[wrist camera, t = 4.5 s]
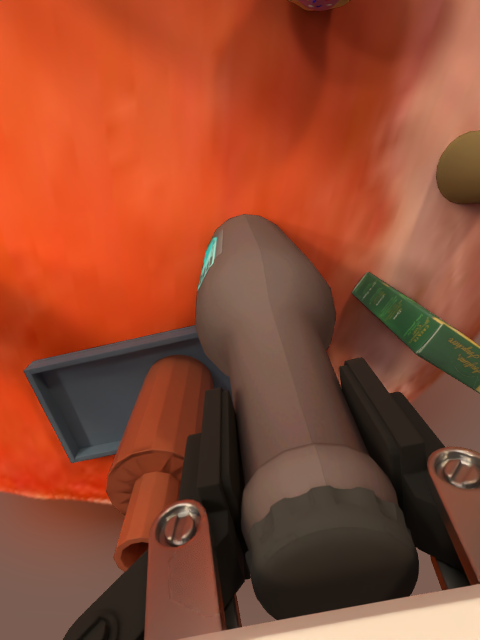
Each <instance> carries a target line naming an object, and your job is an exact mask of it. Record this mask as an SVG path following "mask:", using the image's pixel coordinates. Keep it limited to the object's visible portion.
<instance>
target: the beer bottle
mask: <svg viewBox="0 0 480 640" xmlns="http://www.w3.org/2000/svg"><path fill="white" fill-rule="evenodd" d="M195 318H196V319H195V329H196V332H197V334H198V337H199V340H200V342H201V345H202V348H203V350H204V352H205V354H206V356H207V357H208V358H209V359H210V360H211V361H212V362H213V363H214V364H215V365H216V366H217V367H218V368H219V369H220V370H221V371H222V372H223V373H224V374H225V375H227V376H229V377H230V382H231V390H232V397H233V404H234V410H235V413H236V420H237V431H238V439H239V446H240V453H241V461H242V468H243V475H244V482H245V488H244V491H243V497H242V504H241V531H242V533H243V536H244V539H245V542H246V544H247V547H248V551H247V552H246V553H245V557H246V562H247V565H248V568H249V571H250V574H251V580H252V584H253V589H254V592H255V595H256V597H257V599H258V600H259V602H260V603H261V605H262V606H263V608H264V609H265V610H266V611H267V612H268V613H269V614H270V615H271V616H272V617H274V618H275V619H276V620H283V619H288V618H293V617H299V616H304V615H310V614H315V613H321V612H326V611H332V610H337V609H343V608H348V607H353V606H359V605H365V604H370V603H376V602H381V601H387V600H392V599H398V598H403V597H409V596H410V594H411V593H412V591H413V589H414V587H415V585H416V582H417V579H418V573H419V560H418V553H417V550H416V548H415V545H414V543H413V540H412V537H411V532H410V529H408V528H407V527H406V523H405V519H404V514H403V511H402V510H401V509H400V507H399V506H398V500H397V495H396V491H395V489H394V487H393V485H392V483H391V481H390V479H389V477H388V476H387V475H386V474H385V472H384V471H383V470H382V469H381V468H380V467H379V465H378V464H377V463H376V462H375V461H374V460H373V459H372V458H371V457H370V456H369V453H368V451H367V449H366V446H365V444H364V441H363V439H362V437H361V434H360V432H359V429H358V427H357V425H356V422H355V420H354V417H353V415H352V413H351V410H350V408H349V405H348V403H347V401H346V398H345V396H344V394H343V391H342V389H341V386H340V384H339V382H338V379H337V377H336V374H335V372H334V370H333V367H332V365H331V362H330V360H329V358H328V355H327V353H326V350H327V349H328V347H329V345H330V344H331V339H332V335H333V330H334V326H335V321H336V312H335V307H334V302H333V297H332V292H331V288H330V287H329V285H328V284H327V282H326V281H325V280H324V278H323V277H322V276H321V274H320V273H319V272H318V270H317V269H316V268H315V266H314V265H313V264H312V262H311V261H310V260H309V259H308V258H307V257H306V256H305V255H304V254H303V253H302V252H301V250H300V249H299V248H298V247H297V246H296V245H295V244H294V243H293V242H292V241H291V240H290V239H289V238H288V237H287V236H286V235H285V233H284V232H283V231H282V230H281V229H280V228H279V227H278V226H277V225H276V224H274V223H272V222H270V221H268V220H267V219H265V218H263V217H261V216H257V215H247V214H243V215H240V216H236V217H233V218H230V219H228V220H227V221H226V222H224V223H223V224H222V225H221V226H220V227H219V228H217V229H216V231H215V233H214V235H213V237H212V239H211V241H210V243H209V245H208V247H207V250H206V254H205V258H204V263H203V267H202V272H201V276H200V281H199V285H198V290H197V300H196V315H195Z"/></svg>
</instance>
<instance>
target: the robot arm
mask: <svg viewBox="0 0 480 640" xmlns="http://www.w3.org/2000/svg"><path fill="white" fill-rule="evenodd" d="M339 371H340V378H341V386H342V391H343V394H344V396H345V398H346V401H347V403H348V405H349V408H350V410H351V413H352V415H353V417H354V420H355V422H356V425H357V427H358V429H359V432H360V434H361V437H362V439H363V441H364V444H365V446H366V449H367V451H368V453H369V456H370V457H371V458H372V459H373V460H374V461H375V462H376V463H377V464H378V465H379V467H380V468H381V469H382V470H383V471H384V472H385V474H386V475H387V476H388V477H389V479H390V481H391V483H392V485H393V487H394V489H395V491H396V495H397V500H398V506H399V507H400V509H401V510H402V511H403V514H404V519H405V523H406V527H407V528H408V529H410V532H411V537H412V540H413V543H414V545H415V548H416V547H417V548H418V549H419V550H421V551H423V552H425V553H427V554H429V555H430V556H431V561H432V564H433V567H434V569H435V572H436V575H437V577H438V580H439V583H440V586H441V588H442V591H437V592H432V593H426V594H420V595H415V596H409V597H403V598H398V599H392V600H387V601H381V602H376V603H370V604H365V605H359V606H353V607H348V608H343V609H337V610H332V611H326V612H321V613H315V614H310V615H304V616H299V617H293V618H288V619H283V620H277V621H272V622H267V623H261V624H256V625H251V626H245V627H242V625H241V619H240V613H239V607H238V601H237V596H236V592H237V591H238V589H239V588H240V587H241V585H242V584H243V583H244V582H245V579H250V571H249V568H248V565H247V562H246V557H245V553H246V552H247V551H248V547H247V544H246V542H245V539H244V536H243V533H242V531H241V504H242V497H243V491H244V488H245V482H244V475H243V468H242V461H241V453H240V446H239V439H238V431H237V420H236V413H235V410H234V406H233V402H232V399H231V395H230V392H229V390H228V391H223V389H222V387H221V388H216V389H211V390H206V391H205V397H204V408H203V420H202V431H201V433H197V434H192V435H189V436H188V437H187V441H186V448H185V456H184V463H183V470H182V477H181V484H180V491H179V498H178V501H176V502H174V503H172V504H170V505H168V506H167V507H166V508H164V509H163V510H162V511H161V512H160V513H159V514H158V515H157V516H156V518H155V519H154V521H153V523H152V525H151V528H150V533H149V548H148V550H147V551H146V552H145V553H144V554H143V555H142V556H141V557H140V558H139V559H138V560H137V561H136V562H135V563H133V564H132V565H131V566H130V567H129V568H128V569H127V570H126V571H125V572H124V574H122V575H121V576H120V577H119V578H118V579H117V580H116V581H115V582H114V583H113V584H112V585H111V586H110V587H109V588H108V589H107V590H106V591H105V592H104V593H103V594H102V595H101V596H100V597H99V598H98V599H97V600H96V601H95V602H94V603H93V604H92V605H91V606H90V607H89V608H88V609H87V610H86V611H85V612H84V613H83V614H82V615H81V616H80V617H79V618H78V619H77V620H76V621H75V623H74V624H73V625H72V626H71V627H70V629H69V630H68V632H67V633H66V635H65V637H64V638H63V640H480V453H478V452H476V451H473V450H470V449H466V448H462V447H445V446H444V445H443V444H442V443H441V441H440V440H439V439H438V438H437V436H436V435H435V434H434V433H433V431H432V430H431V429H430V428H429V426H428V425H427V424H426V423H425V421H424V420H423V419H422V418H421V416H420V415H419V414H418V413H417V411H416V410H415V409H414V408H413V406H412V405H411V404H410V403H409V401H408V400H407V399H406V397H405V396H404V395H403V394H402V393H401V392H394V393H389V392H388V391H387V390H386V388H385V387H384V386H383V384H382V383H381V382H380V380H379V379H378V377H377V376H376V375H375V373H374V372H373V371H372V369H371V368H370V367H369V365H368V364H367V363H366V361H365V360H364V359H363V358H362V357H361V358H356V359H352V360H347V361H345V362H344V366H340V367H339Z"/></svg>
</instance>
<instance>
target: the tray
mask: <svg viewBox="0 0 480 640" xmlns="http://www.w3.org/2000/svg"><path fill="white" fill-rule="evenodd" d="M170 355H186V356H190V357H193V358H195V359H197V360H199V361H200V362H202V363H203V364H204V365H205V366H206V367H207V368H208V370H209V371H210V373H211V375H212V378H213V384H214V389H216V388H221V387H222V389H223V391H228V390H229V392H230V395H231V399H232V402H233V397H232V390H231V382H230V377H229V376H227V375H225V374H224V373H223V372H222V371H221V370H220V369H219V368H218V367H217V366H216V365H215V364H214V363H213V362H212V361H211V360H210V359H209V358H208V357H207V356H206V354H205V352H204V350H203V348H202V345H201V342H200V340H199V337H198V334H197V332H196V329H195V325H194V326H189V327H185V328H180V329H176V330H171V331H167V332H162V333H158V334H153V335H149V336H144V337H140V338H135V339H131V340H126V341H122V342H117V343H113V344H108V345H104V346H99V347H95V348H90V349H86V350H81V351H77V352H72V353H68V354H63V355H59V356H54V357H50V358H45V359H41V360H36V361H33V362H32V363H31V364H30V365H29V366H28V367H27V368H26V369H25V370H24V373H25V375H26V377H27V379H28V381H29V383H30V384H31V386H32V388H33V390H34V392H35V394H36V396H37V398H38V400H39V402H40V404H41V406H42V408H43V409H44V411H45V413H46V415H47V417H48V419H49V421H50V423H51V425H52V427H53V429H54V431H55V432H56V434H57V436H58V438H59V440H60V442H61V444H62V446H63V448H64V450H65V452H66V454H67V456H68V457H69V459H70V461H71V463H74V462H79V461H84V460H89V459H94V458H99V457H103V456H108V455H113V454H116V453H117V450H118V447H119V445H120V442H121V440H122V437H123V434H124V432H125V429H126V426H127V424H128V421H129V419H130V416H131V413H132V411H133V408H134V406H135V403H136V400H137V398H138V395H139V393H140V390H141V387H142V385H143V382H144V379H145V377H146V375H147V373H148V371H149V369H150V368H151V367H152V365H153V364H154V363H156V362H157V361H158V360H160V359H162V358H164V357H167V356H170ZM233 406H234V404H233Z"/></svg>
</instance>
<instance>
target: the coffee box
mask: <svg viewBox="0 0 480 640" xmlns="http://www.w3.org/2000/svg"><path fill="white" fill-rule="evenodd" d="M352 294H353V295H354V296H355V297H356V298H357V299H358V300H359V301H360V302H362V303H363V304H364V305H365V306H366V307H367V308H368V309H369V310H370V311H371V312H372V313H373V314H374V315H375V316H376V317H378V318H379V319H380V320H381V321H382V322H383V323H384V324H385V325H386V326H387V327H388V328H389V329H390V330H391V331H392V332H393V333H394V334H395V335H396V336H397V337H398V338H399V339H401V340H402V341H403V342H404V343H405V344H406V345H407V346H408V347H409V348H410V349H411V350H412V351H413V352H414V353H415V354H416V355H418V356H419V357H421V358H423V359H424V360H426V361H427V362H429V363H431V364H432V365H434V366H436V367H437V368H439V369H441V370H442V371H444V372H446V373H447V374H449V375H451V376H452V377H454V378H455V379H457V380H459V381H460V382H462V383H463V384H465V385H467V386H468V387H470V388H472V389H473V390H475V391H476V392H478V393H480V346H479V345H478V344H476V343H475V342H474V341H472V340H471V339H470V338H468V337H467V336H465V335H464V334H462V333H461V332H459V331H458V330H456V329H455V328H453V327H452V326H450V325H449V324H448V323H446V322H444V321H443V320H442V319H440V318H439V317H437V316H436V315H434V314H433V313H431V312H430V311H428V310H427V309H425V308H423V307H422V306H420V305H419V304H417V303H416V302H414V301H413V300H411V299H410V298H408V297H407V296H405V295H404V294H402V293H400V292H399V291H397V290H396V289H394V288H393V287H391V286H390V285H388V284H387V283H385V282H384V281H382V280H380V279H379V278H377V277H376V276H374V275H373V274H371V273H370V272H367V273H366V274H365V275H364V276H363V278H362V279H361V280H360V281H359V283H358V284H357V285H356V286H355V288H354V290H353V292H352Z"/></svg>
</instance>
